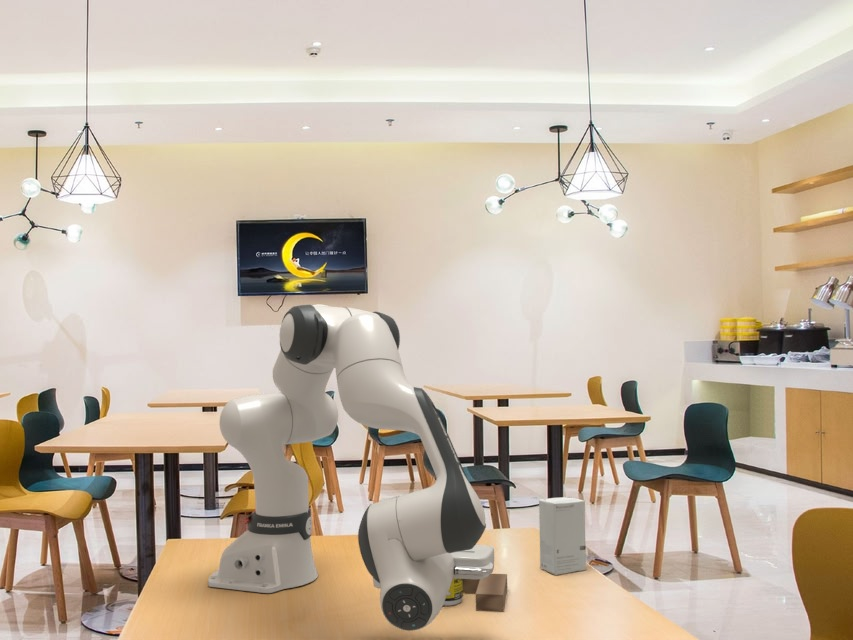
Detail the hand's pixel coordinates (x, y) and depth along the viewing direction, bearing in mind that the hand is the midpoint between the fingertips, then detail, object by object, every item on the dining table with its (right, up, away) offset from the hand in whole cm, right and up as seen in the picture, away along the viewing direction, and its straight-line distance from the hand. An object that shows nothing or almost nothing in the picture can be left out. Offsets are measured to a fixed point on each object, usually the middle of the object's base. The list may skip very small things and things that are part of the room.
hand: (439, 544), depth 132 cm
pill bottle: (+2, -14, +11) cm, 18 cm away
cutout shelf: (+3, -14, +12) cm, 19 cm away
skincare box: (+27, -14, +28) cm, 42 cm away
